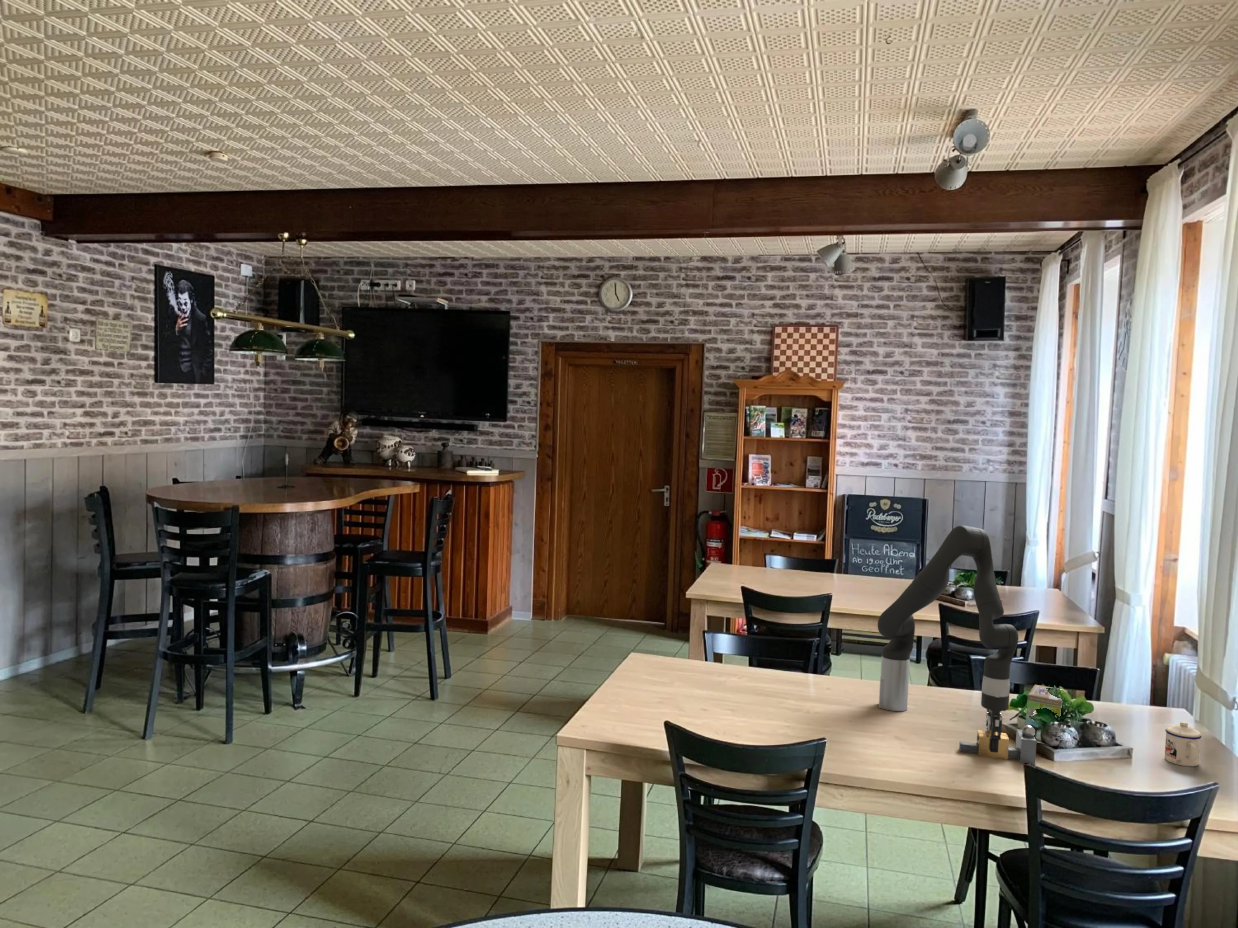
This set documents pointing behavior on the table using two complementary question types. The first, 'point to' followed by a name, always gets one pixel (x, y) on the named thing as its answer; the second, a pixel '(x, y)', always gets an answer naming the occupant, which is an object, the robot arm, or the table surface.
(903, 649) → the robot arm
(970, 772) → the table surface
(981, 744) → the tan wooden block
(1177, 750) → the teacup with lid
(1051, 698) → the tea box
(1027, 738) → the coupler rail
